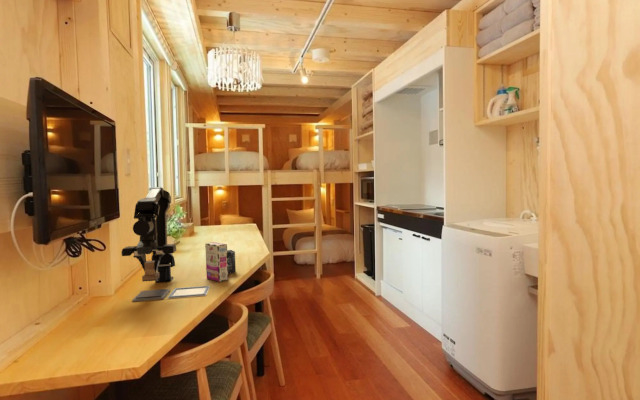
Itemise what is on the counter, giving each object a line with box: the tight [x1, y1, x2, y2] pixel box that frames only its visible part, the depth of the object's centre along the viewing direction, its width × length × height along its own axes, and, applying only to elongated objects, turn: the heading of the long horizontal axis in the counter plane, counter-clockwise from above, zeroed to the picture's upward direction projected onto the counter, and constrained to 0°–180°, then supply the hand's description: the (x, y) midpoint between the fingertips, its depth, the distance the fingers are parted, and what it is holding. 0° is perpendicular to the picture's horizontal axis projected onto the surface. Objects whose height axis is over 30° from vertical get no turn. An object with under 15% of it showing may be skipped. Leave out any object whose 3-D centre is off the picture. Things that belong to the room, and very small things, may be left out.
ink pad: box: [131, 288, 171, 303], centre depth 143 cm, size 11×11×1 cm
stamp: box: [141, 260, 160, 282], centre depth 143 cm, size 5×5×7 cm
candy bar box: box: [205, 241, 229, 283], centre depth 165 cm, size 11×5×16 cm, turn 47°
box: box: [227, 249, 237, 275], centre depth 177 cm, size 8×6×11 cm
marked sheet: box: [166, 285, 211, 300], centre depth 147 cm, size 12×14×1 cm
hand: (150, 271), depth 143 cm, fingers closed on stamp, 3 cm apart
